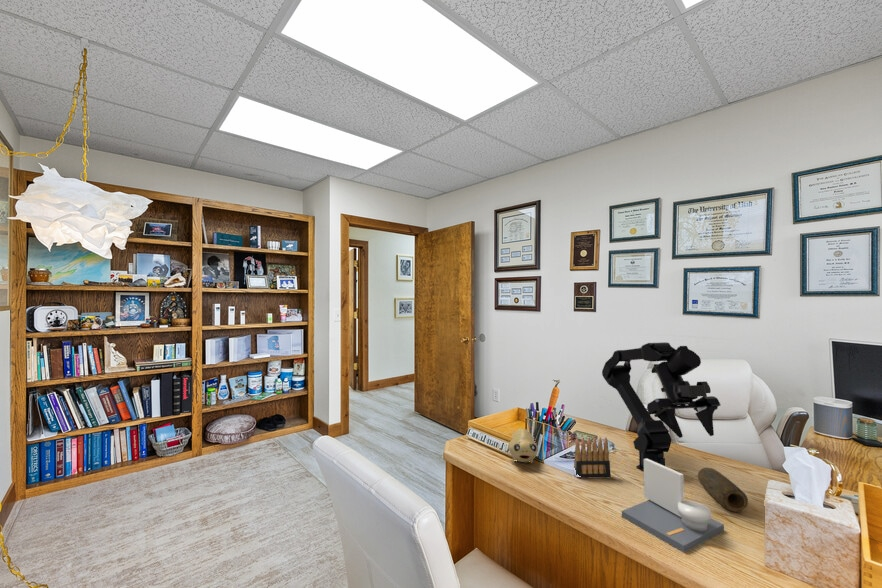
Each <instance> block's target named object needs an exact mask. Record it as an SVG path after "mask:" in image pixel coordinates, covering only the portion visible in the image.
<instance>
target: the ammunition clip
mask: <svg viewBox="0 0 882 588" xmlns="http://www.w3.org/2000/svg"><path fill="white" fill-rule="evenodd" d="M585 440H586V439H585V437H582V439H581V443H580V439H579V437H576V439H575V449H574V464H573V465H574V466H573V469H574V468H575V470H576V475H577V474H578V475H579V476H581V477H610V478H611V477H612V475H611V461H610V450H609V442H608V438H607V437H604V440H602V437H599V438H598V442H597V439H596V437H594V438H593V440H591V438H590V437H587V441H585ZM591 441H592V442H591ZM586 442H587V443H586ZM597 443H598V445H597ZM580 445H581V446H580Z"/></svg>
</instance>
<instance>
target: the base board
mask: <svg viewBox="0 0 882 588" xmlns="http://www.w3.org/2000/svg"><path fill="white" fill-rule="evenodd" d="M621 518H623V519H624V520H627V521H628V522H630V523H632V524H633V525H635V526H637V527H638V528H640V529H642V530H644V531H646V532H647V533H649V534H651V535H653V536H654V537H656V538H658V539H659V540H661V541H663V542H665V543H666V544H668V545H670V546H672V547H673V548H675V549H677V550H678V551H680V552H682V553H686V552H688V551H690V550H692V549H693V548H695V547H697V546H699V545H701V544H703V543H704V542H705V543H706V541H708V540H710V539H711V538H713V537H714V538H715V536H717V535H720V534H721V533H722V532H725V524H724V523H721V522H720V521H718V520H715V519H713V518H711V521H710V522H709V523H696V522H692V521H690V520H687V519H685V518H684V517H680V516H678V515H676V514H674V513H673V512H671V511H669V510H667V509H665V508H663V507H662V506H660V505H658V504H656V503H654V502H653V501H651V500H649V499H647V500H646V501H643V502H641V503H640V502H639V503H638V504H635V505H633V506H631V507H628V508H626V509H624V510H621Z"/></svg>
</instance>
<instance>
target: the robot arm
mask: <svg viewBox="0 0 882 588" xmlns="http://www.w3.org/2000/svg"><path fill="white" fill-rule="evenodd" d="M639 360H643V361H646V362H650V363H651V362H652V363H653V362H660V363H657V364H656V363H653V367H652V369H651V373H652V374H657V376H658V378H659V381H660V383H661V385H662V386H661V388H660V390H661V393H665V394H666V397H663V398H655V399H653V400H652V401H650V402H648V403H647V406H646V407H645V405H644V404H643V402H642V400H641V399H640V397H639V395H638V394H637V392H636V391H635V389H634V387H633V386H632V384H631V375H630V372H631V371H632V366H631V361H639ZM619 362H624V363H623V364H619ZM701 364H702V361H701V357H700V356H699V355H698V354H697V353H696V352H695V351H694V350H691V349H689V348H688V346H687V345H679V346H678V347H677V348H674V347H672V345H671V344H670V343H669V342H667V341H666V342H647V343H645V344H642V346H641V347H638V348H631V349H618V350H615V351H613V353H612V356H611V357H610V358H609V359H607V360H606V362H605V363H604V365H603V368H602V371H601V376H602V377H603V379H604V380H605V382H606V384H608V385H609V387H612V388H613V389H615V390H616V391H617V393H618V394H619V396H620V397H621V399H622V401H623V403H624V404H625V406H626V408H627V410H628V411H629V412H630V414H631V416H632V418H633V419H634V421H635V423H636V424H637V430H636V431H637V432H636V434H637V437H636V438H635V439H634V440H633V446H634V449H636V450H637V451H638V455H639V456H638V457H639V458H638V459H639V462H638V463H639V464H638V465H635V466H636V469H639V470H641V471H643V472H644V459H646V458H647V459H649V460H652V461H654V462H656V463H659V464H661V465H663V466H665V467H666V457H665V455H664V453H669V451H670V447H671V444H672V436H671V434H670V433H669V432H670V430H671V431H672V432H673V433H674V434H675V435H676V437H678V438H679V439H681V438H683V436H684V435H683V433H682V430H681V427H680V425H679V422H678V421H677V418H676V410H679V409H683V410H684V409H693V410H694V411H696V413H695V415H696V417H697V419H698V421H699V422H700V424H701V425H702V426H703V428H704V430H705V432H706V433H707V434H708V436H709V437H713V436H714V434H715V433H714V432H715V431H714V430H715V429H714V424H713V423H714V412H715V411H716V410H718V409H719V407H720V406H721V402H720V401H719V399H718V398H717V397H716V396H712V395H711V396H708V395H707V394H711V387H710V385H709V383H708V381H697V382H696V385H695V384H694V385H692V384H690V382H689V381H688V380H684V378H683V376H685V375H687V374H689V373H690V372H692V371H693V370H695V369H697V368H698V367H700V366H701ZM698 397H699V398H698ZM651 415H653V416H654V417H655V418H658V420H655V419H654V418H653V417H652V416H651ZM665 425H666V426H667V427H668V428H669V429H670V430H669V429H668V428H667V427H666V426H665Z"/></svg>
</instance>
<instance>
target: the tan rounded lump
mask: <svg viewBox="0 0 882 588" xmlns="http://www.w3.org/2000/svg"><path fill="white" fill-rule="evenodd" d="M511 436H512V437H513V439H512V440H511V441H510V442H509V441H508V443H509V444H508V443H507V444H508V445H507V448H508V451H509V453H510V455H511V456H512V458H513V459H514V460H517V461H518V462H521V463H529V461H530V462H533V463H534V459H535V458H536V456H537V454H538V452H539V447H538V444H537V442H536V440H535V438H534V436H533V435H532V434H531V433H530V431H529V430H528V429H525V428H518V429H516V430H515V431H514V432H513V433H512V435H511ZM532 436H533V437H532ZM533 438H534V439H533ZM534 440H535V441H534ZM535 442H536V443H535ZM536 444H537V445H536ZM514 460H513V461H514Z"/></svg>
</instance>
